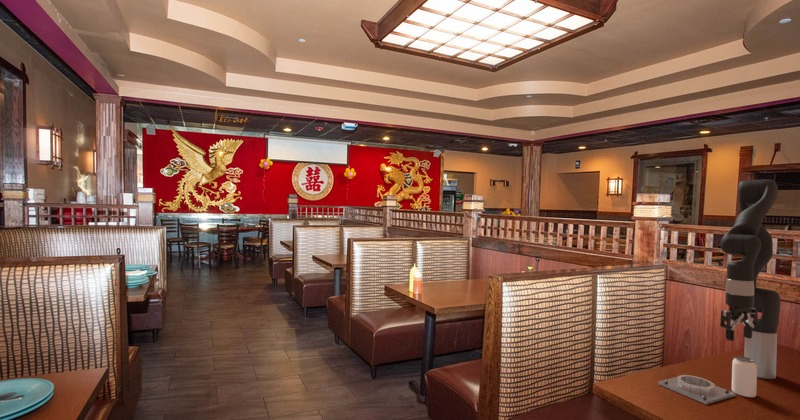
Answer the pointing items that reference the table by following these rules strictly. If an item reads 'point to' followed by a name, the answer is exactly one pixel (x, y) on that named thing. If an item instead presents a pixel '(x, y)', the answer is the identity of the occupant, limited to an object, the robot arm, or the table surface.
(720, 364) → the table surface
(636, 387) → the table surface
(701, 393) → the duct flange
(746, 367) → the can
